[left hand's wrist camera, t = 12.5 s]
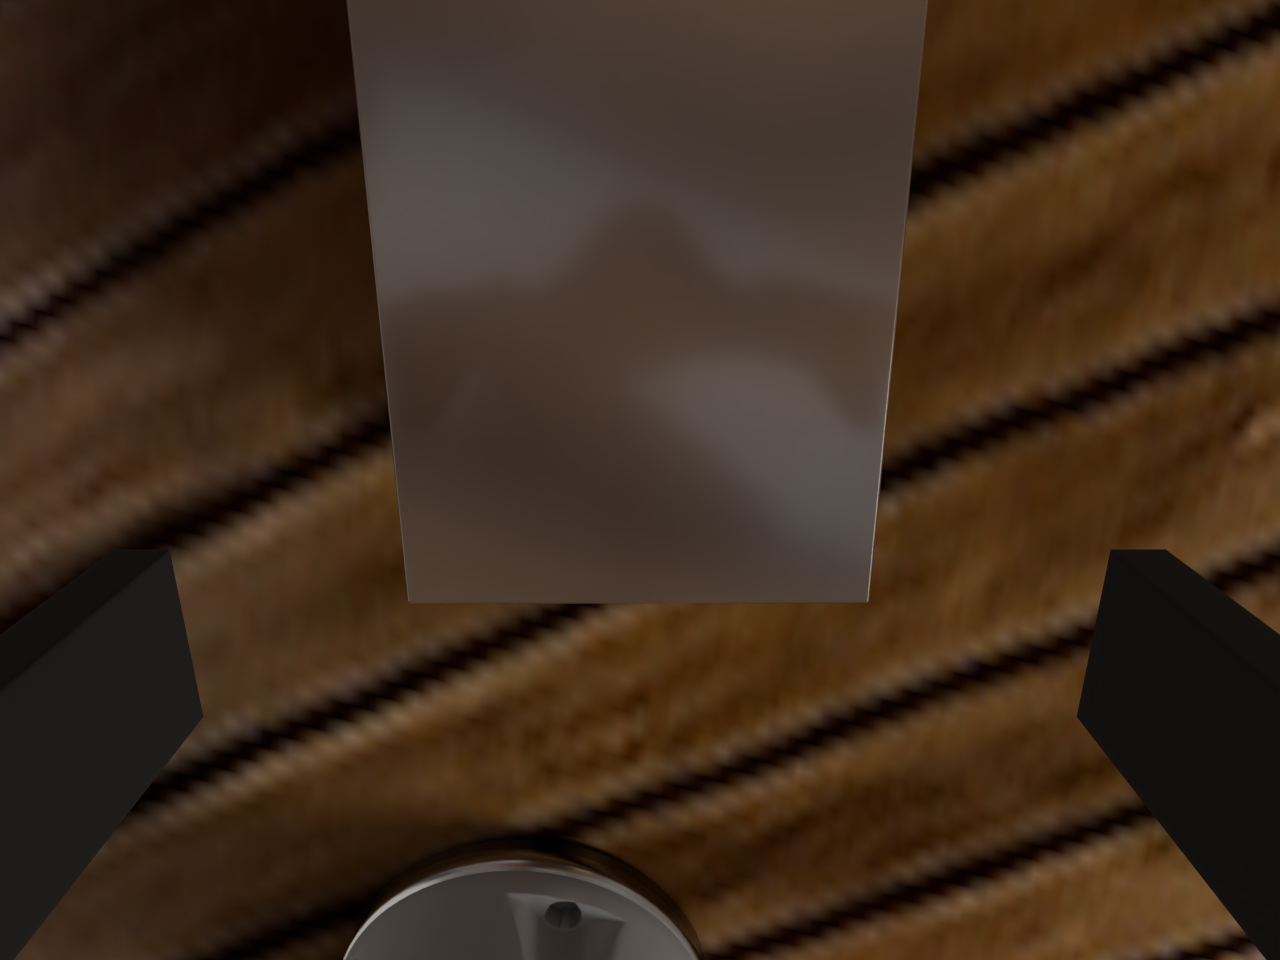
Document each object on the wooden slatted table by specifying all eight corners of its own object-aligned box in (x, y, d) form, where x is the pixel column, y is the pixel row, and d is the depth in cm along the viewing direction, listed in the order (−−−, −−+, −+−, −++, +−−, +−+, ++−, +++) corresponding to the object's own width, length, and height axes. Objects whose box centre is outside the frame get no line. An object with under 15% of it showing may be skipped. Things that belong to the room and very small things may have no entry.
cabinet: (425, -338, 22) (273, -691, 13) (849, -339, 22) (997, -692, 13) (479, 466, 30) (407, 604, 20) (797, 465, 30) (869, 604, 20)
